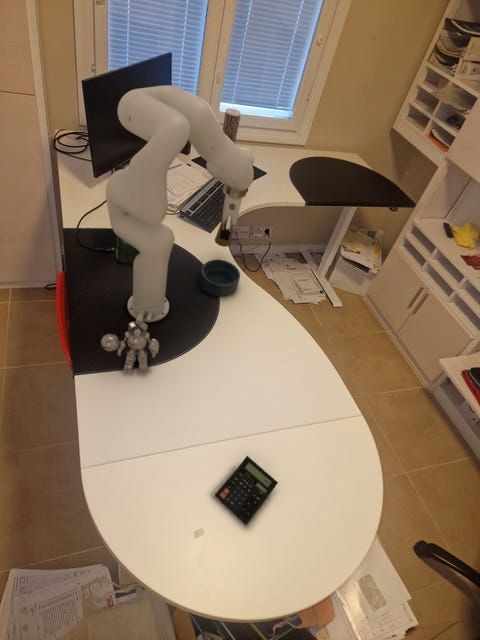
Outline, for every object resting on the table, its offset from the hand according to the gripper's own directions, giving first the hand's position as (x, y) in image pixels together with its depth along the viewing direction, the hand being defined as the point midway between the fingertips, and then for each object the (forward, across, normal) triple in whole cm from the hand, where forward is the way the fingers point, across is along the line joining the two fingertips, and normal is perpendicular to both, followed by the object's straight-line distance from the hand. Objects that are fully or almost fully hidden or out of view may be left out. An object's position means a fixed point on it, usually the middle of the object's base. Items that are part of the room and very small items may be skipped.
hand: (224, 234), depth 145 cm
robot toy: (+11, -53, +22) cm, 59 cm away
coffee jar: (+10, -9, +30) cm, 34 cm away
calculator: (+12, -84, -12) cm, 86 cm away
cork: (+3, 0, 0) cm, 3 cm away
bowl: (+10, -15, 0) cm, 18 cm away
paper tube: (+8, +71, +2) cm, 71 cm away
